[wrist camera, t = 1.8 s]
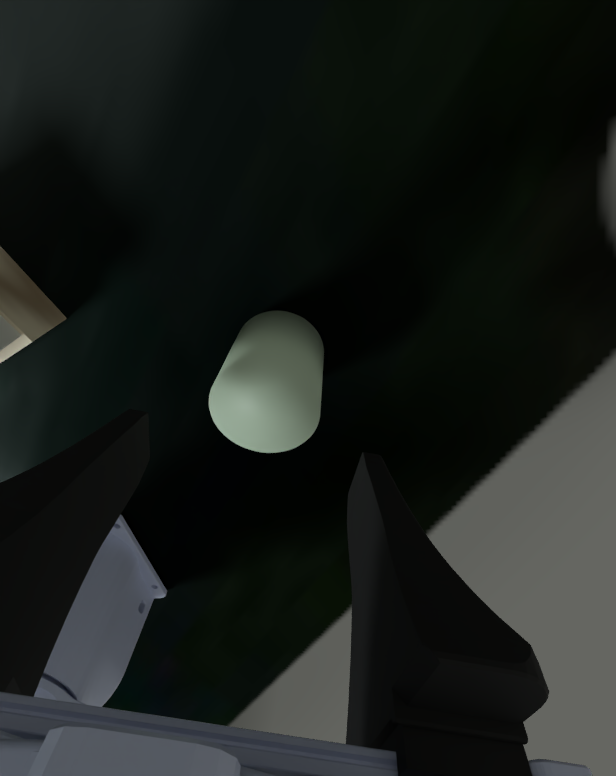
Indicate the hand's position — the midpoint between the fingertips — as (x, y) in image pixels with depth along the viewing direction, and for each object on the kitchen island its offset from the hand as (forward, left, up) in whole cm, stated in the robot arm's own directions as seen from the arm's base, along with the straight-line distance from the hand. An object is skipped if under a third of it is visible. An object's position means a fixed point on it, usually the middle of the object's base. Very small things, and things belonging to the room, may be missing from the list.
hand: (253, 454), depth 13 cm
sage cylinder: (0, 0, -8) cm, 8 cm away
